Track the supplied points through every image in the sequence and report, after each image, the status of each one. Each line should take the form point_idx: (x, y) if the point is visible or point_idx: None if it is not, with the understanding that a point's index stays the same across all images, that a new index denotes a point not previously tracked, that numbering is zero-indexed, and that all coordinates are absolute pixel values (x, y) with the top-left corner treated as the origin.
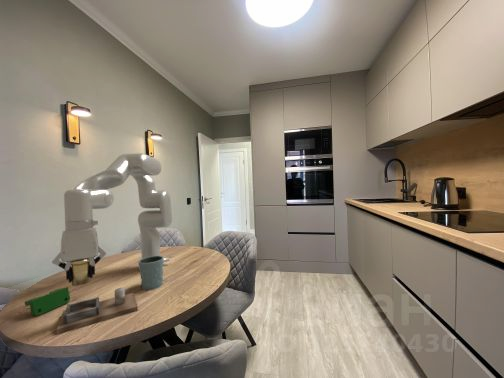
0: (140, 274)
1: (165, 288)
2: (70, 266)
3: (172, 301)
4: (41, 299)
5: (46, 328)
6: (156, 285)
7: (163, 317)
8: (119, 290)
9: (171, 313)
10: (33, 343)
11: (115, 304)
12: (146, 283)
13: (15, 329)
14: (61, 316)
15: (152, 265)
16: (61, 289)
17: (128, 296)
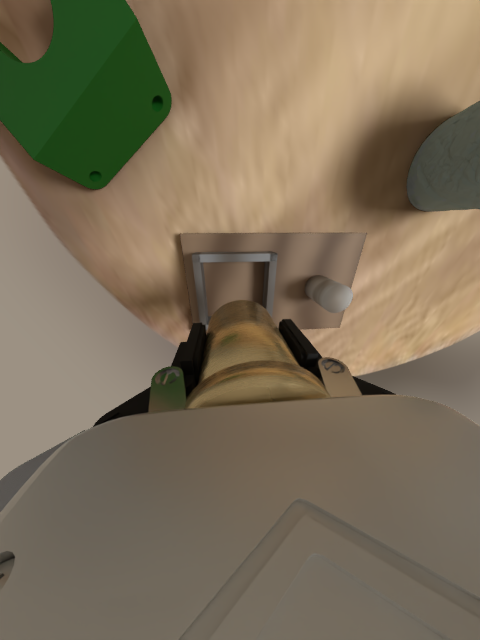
0: (476, 140)
1: (444, 235)
2: (186, 387)
3: (399, 325)
4: (64, 140)
5: (165, 290)
6: (444, 210)
7: (354, 369)
8: (335, 306)
9: (369, 364)
10: (163, 337)
11: (305, 292)
12: (432, 198)
13: (84, 247)
14: (186, 274)
15: None
16: (112, 50)
17: (346, 254)
